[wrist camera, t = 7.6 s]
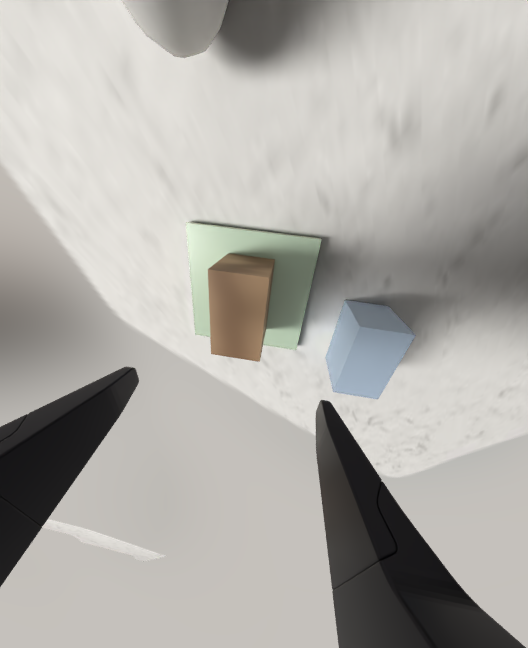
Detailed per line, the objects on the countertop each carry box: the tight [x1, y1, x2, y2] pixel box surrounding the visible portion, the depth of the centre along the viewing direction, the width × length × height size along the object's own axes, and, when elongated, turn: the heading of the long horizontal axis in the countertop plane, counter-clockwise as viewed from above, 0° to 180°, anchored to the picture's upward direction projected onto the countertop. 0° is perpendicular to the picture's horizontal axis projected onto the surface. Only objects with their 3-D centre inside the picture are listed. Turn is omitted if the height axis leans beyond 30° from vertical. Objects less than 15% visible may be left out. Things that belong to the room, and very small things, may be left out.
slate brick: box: [326, 300, 416, 399], centre depth 19 cm, size 4×7×5 cm, turn 174°
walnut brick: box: [208, 253, 275, 362], centre depth 17 cm, size 4×7×5 cm, turn 174°
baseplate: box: [186, 222, 321, 350], centre depth 20 cm, size 11×11×1 cm
